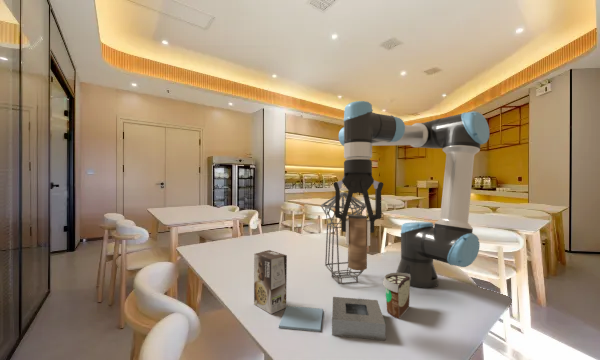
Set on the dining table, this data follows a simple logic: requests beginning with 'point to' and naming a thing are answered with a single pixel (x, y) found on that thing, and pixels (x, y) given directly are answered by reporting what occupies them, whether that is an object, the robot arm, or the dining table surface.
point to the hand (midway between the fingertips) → (357, 243)
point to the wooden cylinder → (357, 242)
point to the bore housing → (357, 318)
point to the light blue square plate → (302, 318)
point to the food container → (397, 293)
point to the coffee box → (270, 280)
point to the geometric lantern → (342, 194)
